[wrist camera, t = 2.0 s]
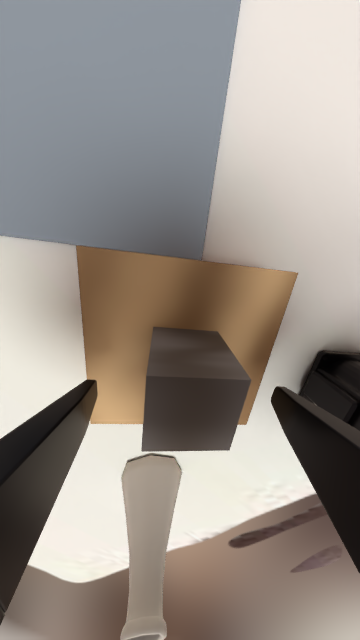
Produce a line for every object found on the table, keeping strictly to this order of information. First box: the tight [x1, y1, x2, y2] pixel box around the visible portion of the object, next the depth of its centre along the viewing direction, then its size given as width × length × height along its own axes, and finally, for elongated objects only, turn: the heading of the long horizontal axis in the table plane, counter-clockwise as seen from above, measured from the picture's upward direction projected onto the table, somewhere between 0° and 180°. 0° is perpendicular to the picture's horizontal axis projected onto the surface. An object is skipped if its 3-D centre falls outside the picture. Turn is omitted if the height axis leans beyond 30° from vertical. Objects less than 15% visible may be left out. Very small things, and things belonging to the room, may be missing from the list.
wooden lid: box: [76, 246, 298, 451], centre depth 10 cm, size 12×12×5 cm
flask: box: [120, 455, 182, 640], centre depth 17 cm, size 7×7×10 cm
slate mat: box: [0, 0, 241, 260], centre depth 9 cm, size 14×14×1 cm
